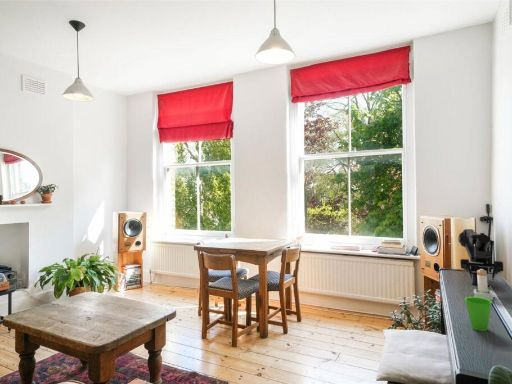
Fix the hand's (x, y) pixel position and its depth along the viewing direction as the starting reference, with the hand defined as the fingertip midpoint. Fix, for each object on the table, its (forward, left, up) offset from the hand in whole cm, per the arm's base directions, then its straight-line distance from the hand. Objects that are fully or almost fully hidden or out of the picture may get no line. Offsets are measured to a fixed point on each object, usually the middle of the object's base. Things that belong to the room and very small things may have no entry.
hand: (482, 278), depth 171 cm
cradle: (+6, 0, -8) cm, 10 cm away
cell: (+6, 0, -8) cm, 10 cm away
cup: (+51, -1, -8) cm, 52 cm away
